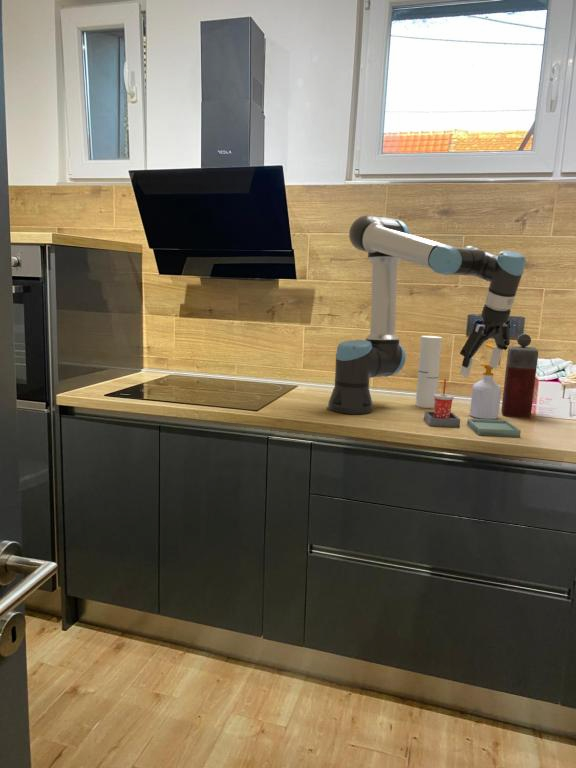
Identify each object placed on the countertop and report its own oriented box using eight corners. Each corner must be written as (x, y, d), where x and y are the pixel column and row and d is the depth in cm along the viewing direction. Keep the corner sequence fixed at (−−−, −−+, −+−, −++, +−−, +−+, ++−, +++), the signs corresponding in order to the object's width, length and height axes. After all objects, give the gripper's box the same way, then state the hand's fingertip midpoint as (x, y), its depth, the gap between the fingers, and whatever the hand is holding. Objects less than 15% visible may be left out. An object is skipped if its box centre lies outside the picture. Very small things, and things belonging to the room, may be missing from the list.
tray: (478, 435, 168) (478, 428, 167) (467, 424, 180) (467, 418, 179) (520, 437, 167) (520, 430, 167) (505, 426, 179) (506, 420, 179)
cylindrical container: (419, 402, 210) (424, 335, 206) (438, 405, 207) (444, 337, 202) (412, 406, 204) (418, 336, 199) (432, 409, 200) (438, 338, 196)
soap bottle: (475, 412, 198) (482, 342, 194) (501, 416, 193) (509, 344, 188) (465, 416, 191) (472, 343, 187) (492, 421, 186) (500, 346, 181)
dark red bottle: (527, 411, 202) (537, 333, 197) (530, 418, 192) (540, 335, 187) (501, 409, 205) (509, 331, 200) (502, 415, 194) (511, 334, 189)
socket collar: (429, 425, 176) (430, 418, 176) (423, 418, 185) (424, 411, 185) (459, 427, 176) (460, 419, 176) (452, 420, 185) (452, 412, 185)
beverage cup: (433, 419, 185) (437, 377, 182) (453, 422, 182) (457, 379, 179) (429, 423, 179) (433, 379, 177) (448, 426, 177) (453, 382, 174)
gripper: (480, 317, 154) (461, 385, 164) (534, 305, 167) (513, 368, 178) (459, 307, 159) (441, 373, 170) (513, 296, 172) (494, 358, 183)
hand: (478, 371), depth 174 cm, fingers open, 13 cm apart
